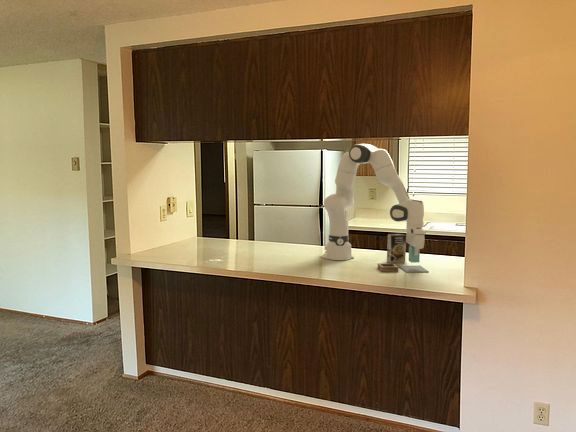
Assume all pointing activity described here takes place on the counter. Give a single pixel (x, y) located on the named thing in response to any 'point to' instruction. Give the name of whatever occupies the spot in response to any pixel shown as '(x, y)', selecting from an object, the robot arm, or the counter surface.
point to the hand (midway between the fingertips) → (414, 254)
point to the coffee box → (396, 248)
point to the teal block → (413, 257)
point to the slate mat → (414, 269)
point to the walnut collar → (388, 267)
